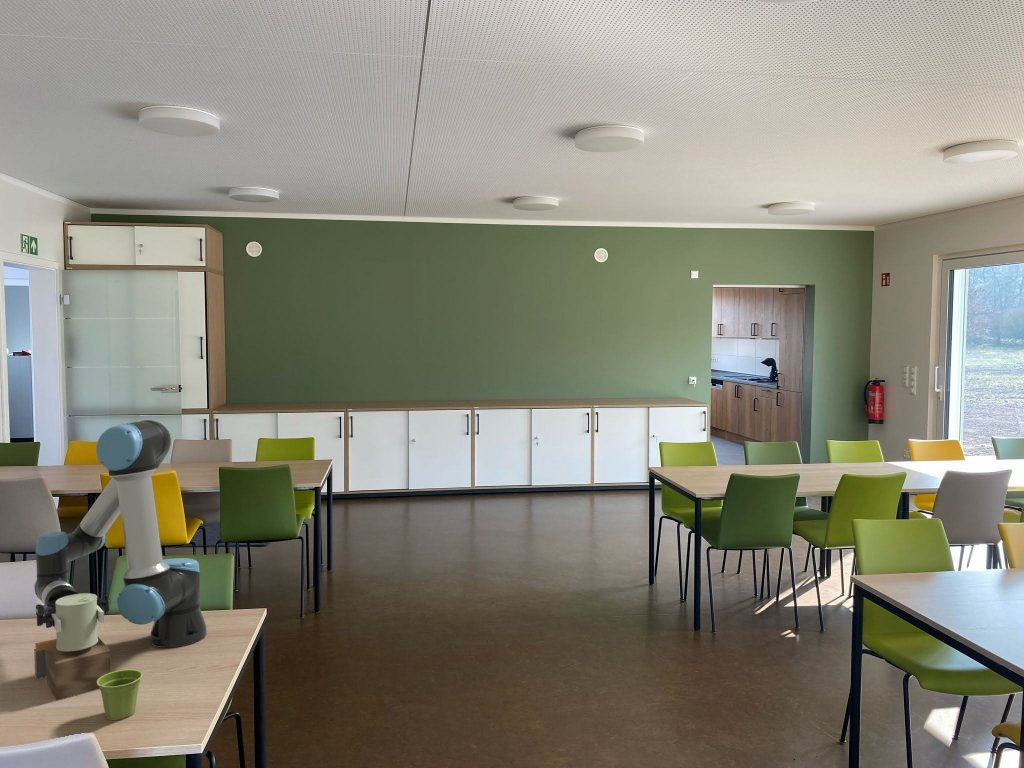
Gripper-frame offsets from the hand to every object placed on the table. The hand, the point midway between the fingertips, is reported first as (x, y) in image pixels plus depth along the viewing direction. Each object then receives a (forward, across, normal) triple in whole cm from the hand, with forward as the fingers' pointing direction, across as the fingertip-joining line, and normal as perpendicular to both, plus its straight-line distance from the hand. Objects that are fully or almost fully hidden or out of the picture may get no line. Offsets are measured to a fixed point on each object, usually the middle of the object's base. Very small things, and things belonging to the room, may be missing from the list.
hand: (81, 621), depth 185 cm
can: (-5, 0, -7) cm, 9 cm away
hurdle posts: (-16, 0, -18) cm, 24 cm away
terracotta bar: (-16, 0, -10) cm, 20 cm away
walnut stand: (-5, 0, -18) cm, 18 cm away
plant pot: (+19, -4, -18) cm, 26 cm away
